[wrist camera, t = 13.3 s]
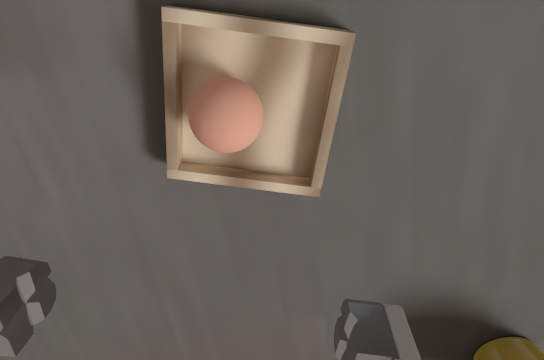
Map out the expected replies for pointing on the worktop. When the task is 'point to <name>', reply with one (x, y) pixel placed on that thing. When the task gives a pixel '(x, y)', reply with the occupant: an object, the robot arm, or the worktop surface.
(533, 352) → the plant pot
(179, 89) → the birch tray
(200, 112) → the coral ball
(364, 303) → the robot arm
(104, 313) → the worktop surface
